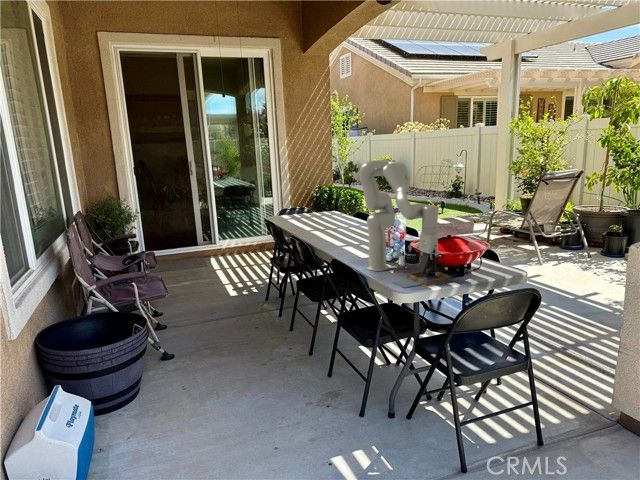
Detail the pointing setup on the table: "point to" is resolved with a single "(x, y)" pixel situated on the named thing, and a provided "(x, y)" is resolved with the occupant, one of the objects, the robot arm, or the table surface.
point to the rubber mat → (406, 283)
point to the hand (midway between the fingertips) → (427, 264)
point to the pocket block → (441, 280)
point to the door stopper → (424, 263)
